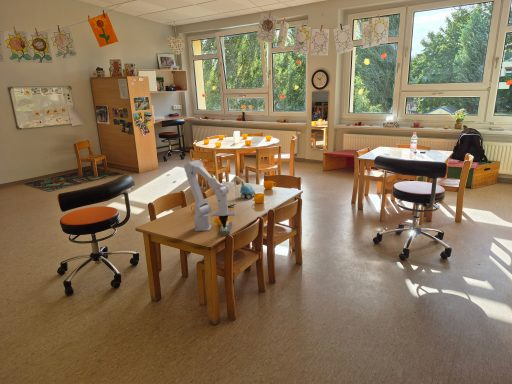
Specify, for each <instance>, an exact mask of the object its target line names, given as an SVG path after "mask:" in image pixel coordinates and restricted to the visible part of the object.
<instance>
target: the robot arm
mask: <svg viewBox="0 0 512 384" xmlns="http://www.w3.org/2000/svg"><path fill="white" fill-rule="evenodd" d="M183 168H184V172H185V176H186V178H187V182H188V184H189V187H190V190H191V192H192V193H191V194H192V196H193V198H194V201H195V202H194V204H193V211H194V212H193V213H194V217H193V223H194V231H195V232H198V231H199V232H200V231H204V232H205V231H210V230H211V227H212V224H211V222H210V215H211V217H212V218H213V217H218V219H219V221H220V222H221V225H223V228H225V227H226V222H227V221H228V218H229V217H236V216H237V215H236V214H237V213H236V211H229V207H228V206H229V205H228V194H229V188H228V186H227V185H225V184H222V183H221V182H220V181H219V180H218V179H217V178H216V177H213V176H211V174H210V173H209V172H208V170H207V169H206V168H205V166H204V162H202V161H201V160H200V159H195V160H192V161H188V162H185V164H184V167H183ZM198 174H199V175H200V176H202V177H203V178H204V179H205V180H206V181H207V185H209V187H210V188H211V189H212V190H213V191H214V195H215V197H216V200H217V208H218V209H217V211H215V212H211V210H212V207H211V205H210V204H209V202H208V200H206V199H205V198H204V195H203V192H202V190H201V186H200V184H199V181H198V179H197V178H198V177H197V175H198ZM210 212H211V214H210Z"/></svg>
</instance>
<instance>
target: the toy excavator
mask: <svg viewBox="0 0 512 384" xmlns="http://www.w3.org/2000/svg"><path fill="white" fill-rule="evenodd" d="M233 182H234V183H237V182H239V183H240V184H241V186H240V190H239V193H240V198H241V199H246V198H247V199H248V200H251V199H252V198H253V196H254V195H255V196H256V192H255V190H254V189H253V187H252V185H251V184H248V183H247V184H245V181H244V180H243V179H242V178H240V177H239V175H236V176H234V177H233ZM255 196H254V197H255Z"/></svg>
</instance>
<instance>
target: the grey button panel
mask: <svg viewBox="0 0 512 384" xmlns="http://www.w3.org/2000/svg"><path fill="white" fill-rule="evenodd" d="M229 222H230V224H228V225H229V227H228V228H227V229H228V231H222V227H223V225H222V224H221V226H220V228H219V236H230V234H231V232H232V228H233V221H229Z"/></svg>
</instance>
